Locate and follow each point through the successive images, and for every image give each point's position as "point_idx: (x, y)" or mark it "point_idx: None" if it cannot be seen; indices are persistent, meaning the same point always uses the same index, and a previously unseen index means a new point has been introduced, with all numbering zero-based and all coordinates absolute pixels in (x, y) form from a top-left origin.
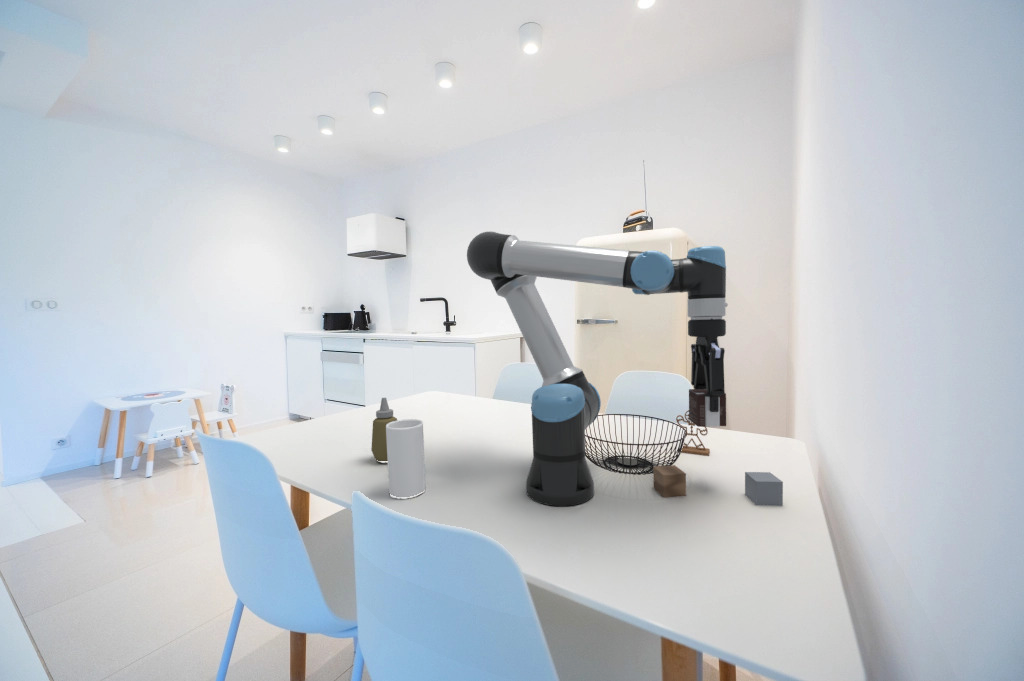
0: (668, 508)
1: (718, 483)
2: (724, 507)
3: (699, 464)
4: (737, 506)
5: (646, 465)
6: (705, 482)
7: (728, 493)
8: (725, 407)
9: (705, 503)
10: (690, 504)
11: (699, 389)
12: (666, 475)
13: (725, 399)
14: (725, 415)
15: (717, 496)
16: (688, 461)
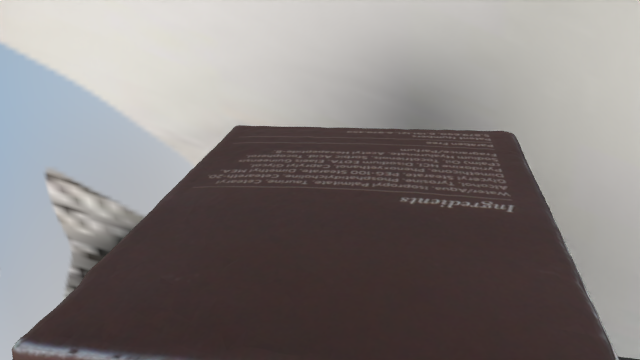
0: (597, 311)
1: (358, 23)
2: (623, 105)
3: (118, 23)
4: (622, 42)
5: None
6: (347, 81)
7: (477, 23)
8: (562, 243)
9: (572, 167)
10: (573, 226)
11: None
12: None
13: (601, 328)
14: (538, 189)
15: (506, 89)
16: (86, 63)
